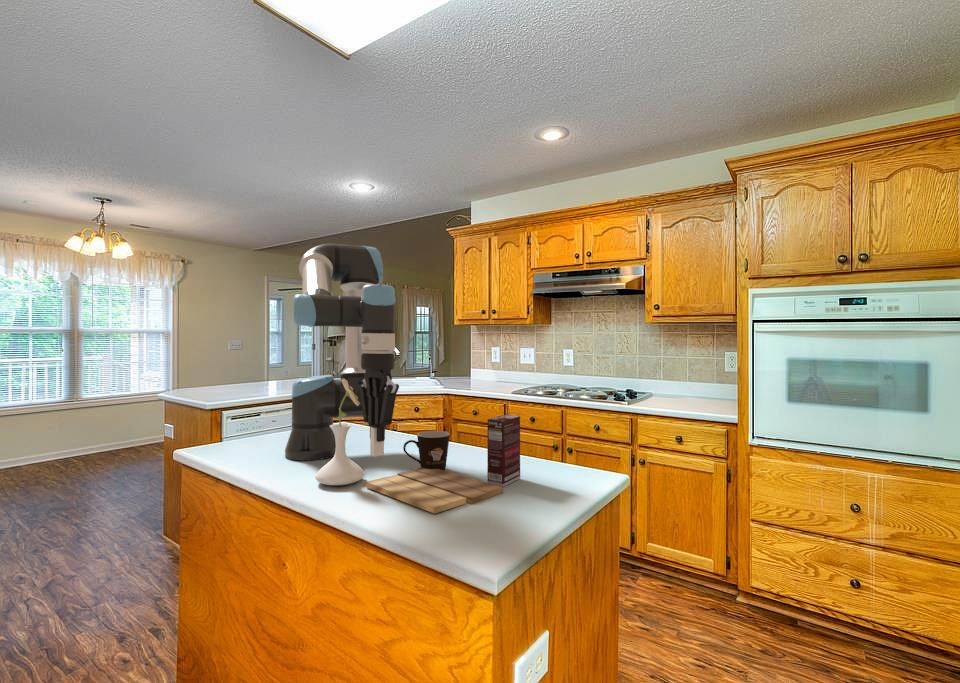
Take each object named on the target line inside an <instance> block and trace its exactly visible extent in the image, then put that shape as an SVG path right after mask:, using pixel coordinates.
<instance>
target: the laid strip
mask: <svg viewBox="0 0 960 683" xmlns="http://www.w3.org/2000/svg"><path fill="white" fill-rule="evenodd" d="M396 475H399V476H402V477H405V478H408V479H411V480H414V481H417V482H420V483H423V484H426V485H429V486H432V487H435V488H438V489H441V490H444V491H447V492H450V493H453V494H456V495H459V496H462V497H465V498H466V504H469V505H473V504H476V503H478V502H481V501H484V500H487V499H489V498H492V497H495V496H497V495H500V494H503V493H504V487H500V486H496V485H493V484H489V483H487V482H485V481H482V480H478V479H474V478H472V477H468V476H464V475H461V474H457V473H454V472H451V471H447V470H445V471H444V470H441V469H426V468H422V467H421V466H420V467H417V468H412V469H409V470H405V471H402V472H397V474H396Z"/></svg>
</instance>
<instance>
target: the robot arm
mask: <svg viewBox="0 0 960 683" xmlns="http://www.w3.org/2000/svg"><path fill="white" fill-rule="evenodd" d="M381 255H382V254H381V252H380V250H379V249H378V248H376V247H374V246H368V245H367V246H366V245H353V244H343V243H342V244H341V243H340V244H339V243H338V244H337V243H322V244H319V245H316V246H314V247H311V248H310V249H308V250H307V251H306V252H305V253H304V254H303V255H302V257H301V258H300V260H299V263H298V271H299V274H300V277H302V294H301V293H300V294H296V295H294V296H293V323H294V324H295V325H296V326H302V327H303V326H304V327H309V328H311V327H340V328H341V327H343V328H344V327H345V369H344V370H343V371H342V372H340V379H335V377H334V375H332V374H326V375H325V374H324V375H315V376H314V375H313V376H310V377H309V376H308V377H303V378H298V379H297V380H295V381H294V382H293V384H292V390H291V395H290V397H291V399H292V400H291V431H290V433H289V437H288V440H287V443H286V446H285V449H284V453H285V454H284V457H285V458H286V459H288V460H292V461H317V460H323V459H324V460H325V459H328V458H333V457H334V455H335V451H336V442H335V436H334V433H333V430H332V429H331V428H330V425H333V424H334V419H336V418H337V417H339V408H340V405H341V403H342V400H343V398H344V396H345V395H346V392H347V391H346V390H345V388H344V386H343V383H342V379H343V378H344V379H345V380H347V381H348V384H349V388H350V387H352V388H353V392H354V394H355V395H356V396H357V397H358V399H357V400H358V401H359V403H360V404H359V406H357V405H356V404H355V403H354V402H353V401H352V399H351V398H350V396H346V398H345V400H344V402H343V404H342V406H341V411H342V412H344V413H345V414H347V415H346V416H345V417H344V418H343V419H345V418H346V419H347V418H363V422H364V423H367V424H368V427H369V439H370V441H369V442H370V447H369V448H370V450H369V454H370V455H369V456H372V457H378V456H382V455H385V440H386V427H387V426H390V425H392V422H393V416H394V411H395V410H394V409H395V404H396V398H397V393H398V391H399V389H400V385H399V384H398V383H394V382H393V380H392V379H393V377H392V370H394V369H395V358H396V357H395V353H393V352H394V351H395V350H396V334H395V333H396V332H395V331H396V329H395V324H396V303H397V299H396V292H395V291H396V289H395V288H394V286H392V285H388V284H382V283H383V280H384V266H383V259H382V256H381ZM332 282H339V283H340V289H341V290H342V291H343V292H344V293H345V295H334V291H333V284H332ZM340 415H341V414H340Z"/></svg>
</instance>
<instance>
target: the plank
mask: <svg viewBox="0 0 960 683" xmlns="http://www.w3.org/2000/svg"><path fill="white" fill-rule="evenodd" d="M364 485H365V486H364V487H365V488H367V489H369V490H373V491H375V492H377V493H380V494H382V495H385V496H388V497H391V498H393V499H395V500H398V501H401V502H403V503H406V504H408V505H411V506H414V507H416V508H419V509H421V510H424V511H426V512H429V513H431V514H434V515H435V514H438V513H441V512H444V511H448V510H450V509H453V508H456V507H460V506H462V505H466V504H467V503H466V498H465V497H462V496H459V495H456V494H453V493H450V492H447V491H444V490H441V489H438V488H435V487H432V486H429V485H426V484H423V483H420V482H417V481H414V480H411V479H408V478H405V477H402V476H399V475H397V474H394V475H390V476H385V477H381V478H376V479H371V480H368V481H365V484H364Z"/></svg>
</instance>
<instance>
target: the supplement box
mask: <svg viewBox="0 0 960 683" xmlns="http://www.w3.org/2000/svg"><path fill="white" fill-rule="evenodd" d="M486 477H487V482H486V483H489V484H493V485H496V486H500V487H503V488H505V487H506V486H508V485H510V484H511V483H514V482H516V481H517V480H519V479H521V416H520V415H515V414H513V415H512V414H503V415H499V416H495V417H491V418H487V476H486Z"/></svg>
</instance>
